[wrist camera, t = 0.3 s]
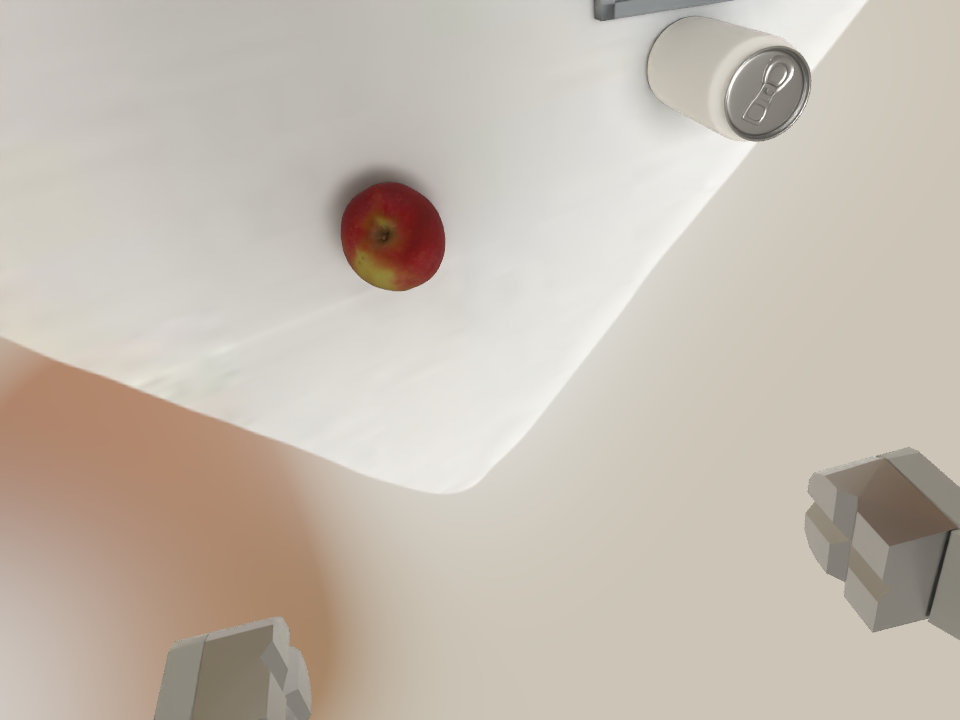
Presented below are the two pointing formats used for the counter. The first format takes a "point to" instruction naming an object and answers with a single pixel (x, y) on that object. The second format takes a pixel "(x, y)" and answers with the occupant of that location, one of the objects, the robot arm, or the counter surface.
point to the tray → (641, 7)
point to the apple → (392, 237)
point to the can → (729, 78)
